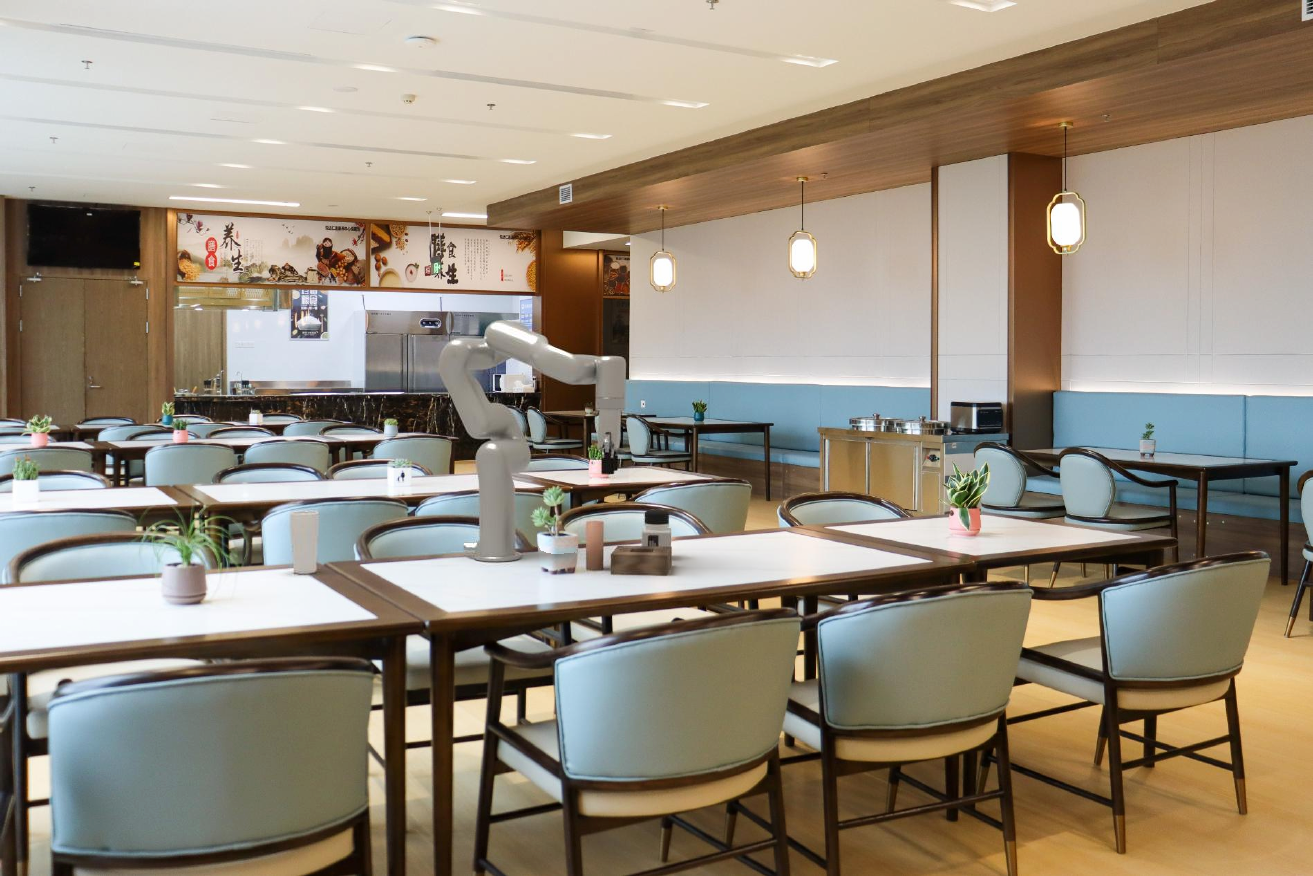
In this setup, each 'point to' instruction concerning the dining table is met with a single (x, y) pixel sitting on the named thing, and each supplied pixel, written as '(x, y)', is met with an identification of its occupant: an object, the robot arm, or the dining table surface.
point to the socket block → (641, 560)
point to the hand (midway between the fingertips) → (609, 472)
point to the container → (656, 529)
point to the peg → (594, 545)
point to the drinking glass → (304, 540)
